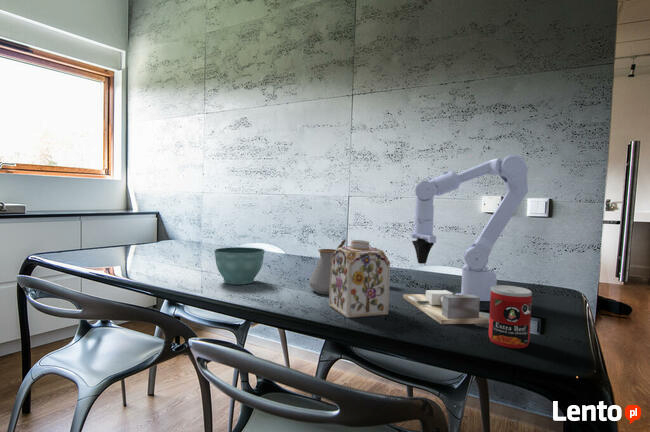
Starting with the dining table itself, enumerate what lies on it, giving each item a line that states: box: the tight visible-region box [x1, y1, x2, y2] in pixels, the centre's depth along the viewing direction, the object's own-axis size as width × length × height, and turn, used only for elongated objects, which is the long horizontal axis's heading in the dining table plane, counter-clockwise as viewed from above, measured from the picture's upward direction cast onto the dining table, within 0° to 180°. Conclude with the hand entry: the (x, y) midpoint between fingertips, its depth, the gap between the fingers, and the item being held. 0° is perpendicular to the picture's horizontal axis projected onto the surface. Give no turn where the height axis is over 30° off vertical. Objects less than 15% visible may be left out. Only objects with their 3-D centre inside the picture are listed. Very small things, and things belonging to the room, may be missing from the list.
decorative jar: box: [328, 239, 391, 319], centre depth 99 cm, size 12×12×18 cm
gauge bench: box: [402, 293, 489, 325], centre depth 104 cm, size 12×25×6 cm, turn 9°
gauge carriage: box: [417, 289, 454, 305], centre depth 102 cm, size 9×10×3 cm
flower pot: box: [213, 246, 266, 286], centre depth 128 cm, size 16×16×11 cm
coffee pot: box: [308, 239, 349, 295], centre depth 124 cm, size 21×12×15 cm, turn 158°
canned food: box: [488, 284, 533, 349], centre depth 80 cm, size 8×8×11 cm
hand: (421, 263), depth 122 cm, fingers closed
